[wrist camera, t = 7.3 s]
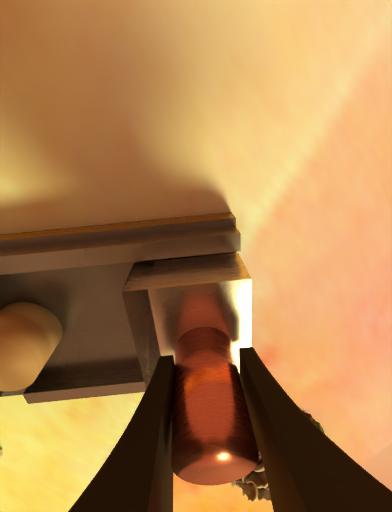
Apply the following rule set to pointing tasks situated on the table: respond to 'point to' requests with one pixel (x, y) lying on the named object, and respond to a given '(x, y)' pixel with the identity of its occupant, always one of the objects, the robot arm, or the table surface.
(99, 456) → the table surface
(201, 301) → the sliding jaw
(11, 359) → the tan rounded lump
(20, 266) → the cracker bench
